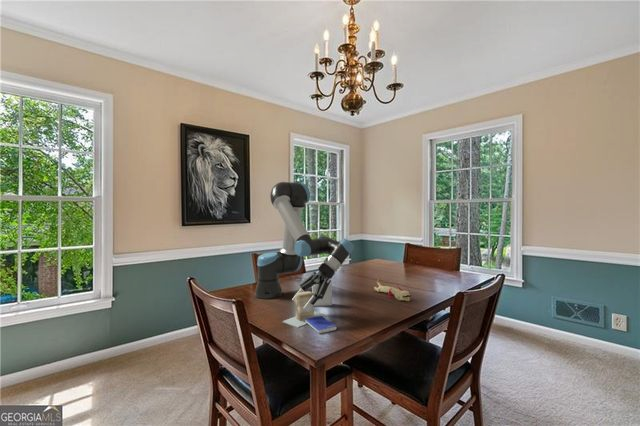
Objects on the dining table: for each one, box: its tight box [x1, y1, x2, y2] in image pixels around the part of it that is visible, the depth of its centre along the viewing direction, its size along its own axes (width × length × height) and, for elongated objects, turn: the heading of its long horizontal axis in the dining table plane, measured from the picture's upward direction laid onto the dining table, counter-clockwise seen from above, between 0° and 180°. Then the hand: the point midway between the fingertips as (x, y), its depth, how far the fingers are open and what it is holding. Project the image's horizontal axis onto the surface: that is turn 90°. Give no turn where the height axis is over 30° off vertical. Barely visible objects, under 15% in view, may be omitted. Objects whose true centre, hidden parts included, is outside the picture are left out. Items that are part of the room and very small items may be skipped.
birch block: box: [295, 291, 315, 321], centre depth 134 cm, size 4×7×11 cm, turn 118°
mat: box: [282, 310, 327, 329], centre depth 134 cm, size 10×18×1 cm, turn 138°
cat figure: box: [373, 278, 412, 302], centre depth 166 cm, size 10×9×25 cm
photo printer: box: [311, 281, 333, 307], centre depth 152 cm, size 10×4×12 cm, turn 90°
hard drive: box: [305, 316, 337, 334], centre depth 125 cm, size 2×8×12 cm
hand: (299, 305), depth 133 cm, fingers open, 12 cm apart
